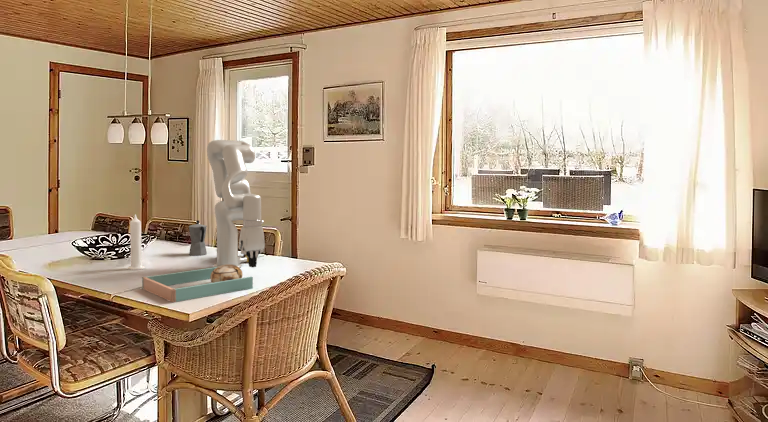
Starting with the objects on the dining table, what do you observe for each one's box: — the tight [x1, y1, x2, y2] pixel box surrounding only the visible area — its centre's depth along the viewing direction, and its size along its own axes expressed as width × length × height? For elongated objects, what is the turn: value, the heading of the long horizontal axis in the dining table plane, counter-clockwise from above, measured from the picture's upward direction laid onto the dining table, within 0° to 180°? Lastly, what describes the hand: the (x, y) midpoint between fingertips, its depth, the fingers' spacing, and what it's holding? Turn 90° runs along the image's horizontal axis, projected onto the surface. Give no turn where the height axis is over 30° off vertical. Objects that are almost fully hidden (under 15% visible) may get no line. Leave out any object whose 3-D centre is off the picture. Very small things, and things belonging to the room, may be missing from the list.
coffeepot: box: [188, 220, 208, 257], centre depth 287 cm, size 15×9×18 cm, turn 37°
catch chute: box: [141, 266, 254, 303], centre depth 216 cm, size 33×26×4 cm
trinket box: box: [209, 264, 244, 283], centre depth 225 cm, size 13×15×8 cm
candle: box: [127, 213, 146, 271], centre depth 249 cm, size 7×7×25 cm
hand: (252, 266), depth 233 cm, fingers closed
